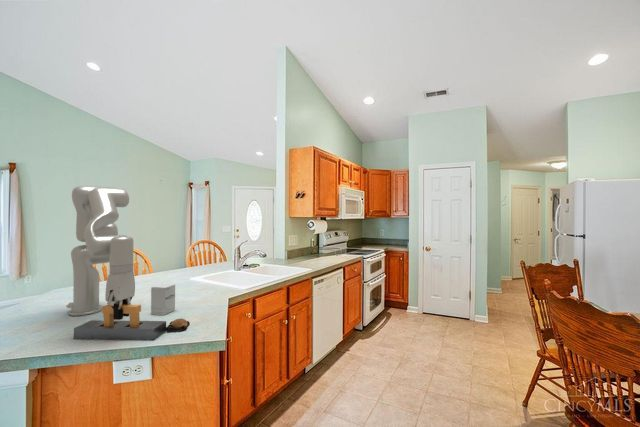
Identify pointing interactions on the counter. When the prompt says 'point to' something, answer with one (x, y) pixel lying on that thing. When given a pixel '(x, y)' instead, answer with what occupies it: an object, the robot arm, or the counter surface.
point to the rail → (120, 330)
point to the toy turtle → (177, 326)
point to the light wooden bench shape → (127, 309)
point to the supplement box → (162, 299)
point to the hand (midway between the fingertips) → (121, 317)
